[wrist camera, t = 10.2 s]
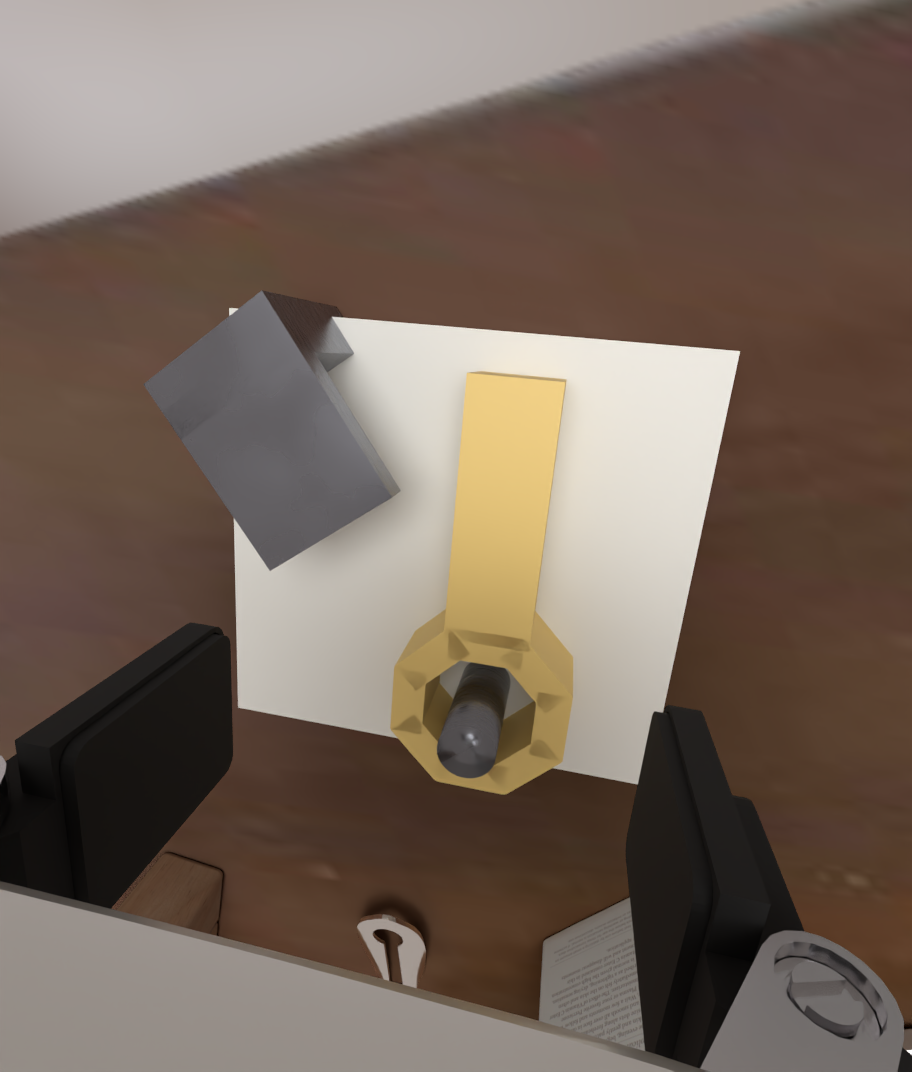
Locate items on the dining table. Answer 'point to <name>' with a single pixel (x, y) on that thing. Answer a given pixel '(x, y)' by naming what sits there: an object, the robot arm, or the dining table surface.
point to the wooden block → (178, 894)
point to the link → (495, 586)
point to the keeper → (275, 424)
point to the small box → (594, 978)
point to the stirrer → (408, 949)
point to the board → (570, 542)
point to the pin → (474, 721)
